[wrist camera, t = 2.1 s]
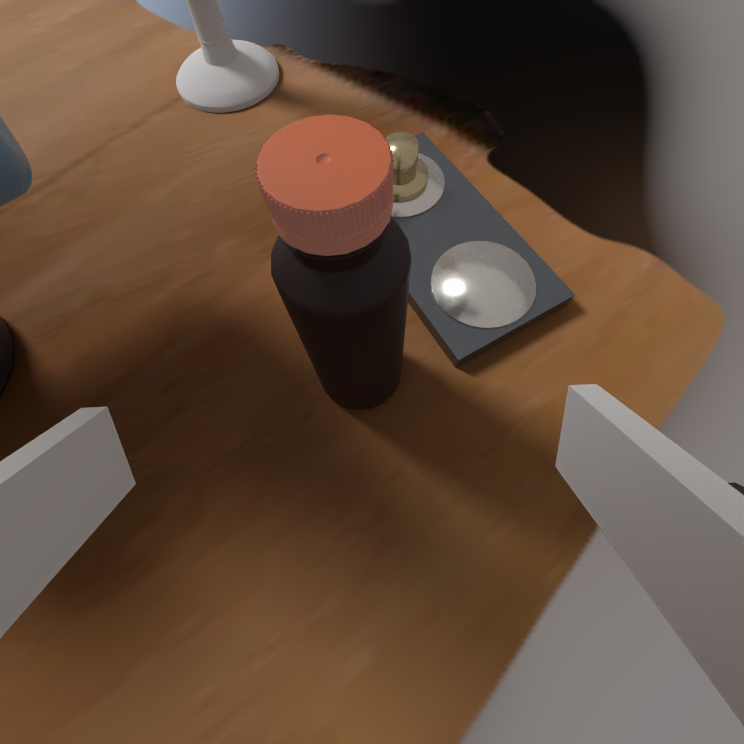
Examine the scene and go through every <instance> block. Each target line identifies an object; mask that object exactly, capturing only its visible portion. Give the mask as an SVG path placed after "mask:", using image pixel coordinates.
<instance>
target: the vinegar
mask: <svg viewBox="0 0 744 744" xmlns="http://www.w3.org/2000/svg"><path fill="white" fill-rule="evenodd" d="M258 157H259V158H258V159H256V160H257V163H256V168H255V169H256V172H255V173H256V179H257V183H258V185H259V188H260V190H261V193H262V196H263V198H264V201H265V204H266V206H267V209H268V211H269V214H270V216H271V219H272V221H273V224H274V226H275V228H276V230H277V233H278V237H277V240H276V242H275V245H274V247H273V250H272V253H271V274H272V277H273V279H274V282H275V284H276V287H277V289H278V291H279V294H280V296H281V298H282V300H283V302H284V304H285V306H286V309H287V311H288V313H289V315H290V317H291V319H292V321H293V324H294V326H295V328H296V330H297V332H298V334H299V336H300V339H301V341H302V343H303V345H304V347H305V349H306V351H307V354H308V356H309V358H310V360H311V362H312V364H313V366H314V369H315V371H316V373H317V375H318V377H319V379H320V381H321V384H322V386H323V388H324V390H325V392H326V393H327V394H328V395H329V396H330V397H331V399H332V400H333V401H335V402H337V403H338V404H340V405H342V406H344V407H347V408H352V409H357V410H359V409H368V408H372V407H374V406H377V405H379V404H381V403H383V402H384V401H385V400H387V399H388V398H389V397H390V396H391V395H392V394H393V392H394V391H395V389H396V387H397V386H398V384H399V380H400V374H401V367H402V356H403V345H404V335H405V324H406V314H407V303H408V292H409V282H410V271H411V253H410V248H409V242H408V239H407V237H406V235H405V234H404V232H403V231H402V229H401V227H400V226H399V224H398V223H397V222H396V221H395V220H394V219H393V218H391V213H392V209H393V162H394V159H393V154H392V150H391V146H389V142H387V139H386V138H385V139H384V135H381V132H379V131H377V129H375V128H373V126H370V125H369V124H368V123H366V122H364V121H360V120H358V119H355V118H352V117H349V116H339V115H321V116H312V117H308V118H304V119H302V120H299V121H296V122H293V123H291V124H289V125H287V126H286V127H284V128H282V129H281V130H279V131H277V132H276V133H275V134H274V135H273V136H272V137H271V138H270V139H268V141H267V142H266V143H265V145H264V146H263V147H262V151H260V155H258Z"/></svg>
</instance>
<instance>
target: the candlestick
mask: <svg viewBox="0 0 744 744" xmlns="http://www.w3.org/2000/svg"><path fill="white" fill-rule="evenodd" d="M186 2H187V5H188V8H189V11H190V14H191V17H192V20H193V23H194V26H195V28H196V32H197V35H198V39H199V41H200V43H201V48H199V49H198V50H196V51H195V52H193V53H192V54H191V55H190V56H189V57H188V58H187V59H186V60H185V61H184V63H183V64H182V66H181V68H180V70H179V72H178V74H177V78H176V85H177V89H178V92H179V94H180V96H181V97H182V99H183V100H184V101H185V102H186V103H187V104H188V105H190V106H191V107H193V108H196V109H198V110H201V111H206V112H213V113H225V112H232V111H238V110H241V109H244V108H247V107H250V106H252V105H254V104H256V103H258V102H260V101H261V100H263V99H264V98H265V97H267V96H268V95H269V94H270V93H271V92H272V91H273V89H274V88H275V86H276V85H277V83H278V80H279V68H278V64H277V62H276V59H275V58H274V56H273V55H272V54H271V53H270V52H268V51H267V50H266V49H264V48H262V47H261V46H259V45H256V44H254V43H251V42H247V41H242V40H231V38H230V36H229V32H228V29H227V27H226V25H225V22H224V19H223V17H222V14H221V12H220V9H219V6H218V3H217V1H216V0H186Z"/></svg>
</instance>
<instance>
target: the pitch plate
mask: <svg viewBox="0 0 744 744" xmlns="http://www.w3.org/2000/svg"><path fill="white" fill-rule="evenodd" d="M386 139H387V142H389V146H391V150H392V154H393V159H394V162H393V209H392V213H391V218H393V219H394V220H395V221H396V222H397V223H398V224H399V226H400V227H401V229H402V231H403V232H404V234H405V235H406V237H407V239H408V242H409V248H410V253H411V271H410V282H409V292H408V302H409V304H410V305H411V307H412V308H413V309H414V311H415V312H416V313H417V315H418V316H419V318H420V319H421V320H422V322H423V323H424V325H425V326H426V327H427V329H428V330H429V332H430V333H431V334H432V336H433V337H434V338H435V340H436V341H437V343H438V344H439V345H440V347H441V348H442V350H443V351H444V352H445V354H446V355H447V356H448V358H449V359H450V361H451V362H452V363H453V365H454V366H455V367H457V366H459V365H461V364H462V363H464V362H466V361H468V360H469V359H471V358H473V357H475V356H477V355H478V354H480V353H482V352H484V351H485V350H487V349H489V348H491V347H492V346H494V345H496V344H498V343H500V342H501V341H503V340H505V339H507V338H508V337H510V336H512V335H514V334H516V333H517V332H519V331H521V330H523V329H524V328H526V327H528V326H530V325H531V324H533V323H535V322H537V321H539V320H540V319H542V318H544V317H546V316H547V315H549V314H551V313H553V312H554V311H556V310H558V309H560V308H562V307H563V306H565V305H567V304H568V303H569V302H570V300H571V299H572V298H573V297H574V296H575V294H574V293H573V292H572V291H571V290H570V289H569V288H568V286H567V285H566V284H565V283H564V282H563V281H562V280H561V279H560V278H559V277H558V276H557V275H556V274H555V273H554V272H553V270H552V269H551V268H550V267H549V266H548V265H547V264H546V263H545V262H544V261H543V260H542V259H541V258H540V257H539V256H538V255H537V253H536V252H535V251H534V250H533V249H532V248H531V247H530V246H529V245H528V244H527V243H526V242H525V241H524V240H523V239H522V237H521V236H520V235H519V234H518V233H517V232H516V231H515V230H514V229H513V228H512V227H511V226H510V225H509V224H508V223H507V221H506V220H505V219H504V218H503V217H502V216H501V215H500V214H499V213H498V212H497V211H496V210H495V209H494V208H493V207H492V206H491V204H490V203H489V202H488V201H487V200H486V199H485V198H484V197H483V196H482V195H481V194H480V193H479V192H478V191H477V190H476V188H475V187H474V186H473V185H472V184H471V183H470V182H469V181H468V180H467V179H466V178H465V177H464V176H463V175H462V174H461V172H460V171H459V170H458V169H457V168H456V167H455V166H454V165H453V164H452V163H451V162H450V161H449V160H448V159H447V158H446V157H445V155H444V154H443V153H442V152H441V151H440V150H439V149H438V148H437V147H436V146H435V145H434V144H433V143H432V142H431V141H430V139H429V138H428V137H427V136H426V135H425V134H424V133H420V134H418V135H416V136H414V135H412V134H410V133H407V132H396V133H392V134H390V135H389V136H387V137H386Z"/></svg>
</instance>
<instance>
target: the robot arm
mask: <svg viewBox="0 0 744 744" xmlns="http://www.w3.org/2000/svg"><path fill="white" fill-rule="evenodd" d="M31 183H32V171H31V167H30V165H29V162H28V160H27V158H26V156H25V154H24V152H23V150H22V149H21V147H20V145H19V144H18V142H17V141H16V139H15V137H14V136H13V134H12V133H11V131H10V130H9V128H8V127H7V125H6V124H5V123H4V121H3V120H2V118H1V117H0V207H1V206H3V205H5V204H7V203H9V202H10V201H12V200H14V199H16V198H18V197H20V196H21V195H23V194H24V193H25V192H26V191H27V190H28V189H29V188H30V186H31ZM12 361H13V340H12V336H11V333H10V331H9V328H8V327H7V325H6V324H5V322H4V321H3V320H2V319H1V318H0V392H1V391H2V389H3V387H4V385H5V383H6V380H7V378H8V375H9V373H10V369H11V366H12ZM555 467H556V468H557V470H558V471H559V472H560V474H561V475H562V476H563V478H564V479H565V481H566V482H567V483H568V485H569V486H570V487H571V489H572V490H573V492H574V493H575V494H576V496H577V497H578V498H579V500H580V501H581V503H582V504H583V505H584V507H585V508H586V509H587V511H588V512H589V514H590V515H591V516H592V518H593V519H594V520H595V522H596V523H597V525H598V526H599V527H600V529H601V530H602V531H603V533H604V534H605V535H606V537H607V538H608V539H609V541H610V542H611V544H612V545H613V546H614V548H615V549H616V551H617V552H618V554H619V555H620V556H621V558H622V559H623V560H624V562H625V563H626V565H627V566H628V567H629V568H630V570H631V571H632V573H633V574H634V575H635V577H636V578H637V580H638V581H639V582H640V584H641V585H642V587H643V588H644V589H645V591H646V592H647V593H648V595H649V596H650V597H651V599H652V600H653V602H654V603H655V604H656V606H657V607H658V608H659V610H660V611H661V613H662V614H663V615H664V617H665V618H666V620H667V621H668V622H669V624H670V625H671V626H672V628H673V629H674V631H675V632H676V633H677V635H678V636H679V637H680V639H681V640H682V642H683V643H684V644H685V646H686V647H687V648H688V650H689V651H690V652H691V654H692V655H693V657H694V658H695V659H696V661H697V662H698V664H699V665H700V666H701V668H702V669H703V670H704V672H705V673H706V674H707V676H708V677H709V679H710V680H711V681H712V683H713V684H714V685H715V687H716V688H717V690H718V691H719V692H720V694H721V695H722V697H723V698H724V699H725V701H726V702H727V703H728V705H729V706H730V708H731V709H732V710H733V712H734V713H735V714H736V716H737V717H738V719H739V720H740V721H741V723H742V724H743V725H744V487H743V486H741V485H739V484H737V483H727V482H725V481H724V480H723V479H721V478H720V477H719V476H717V475H716V474H715V473H714V472H712V471H711V470H710V469H708V468H707V467H705V466H704V465H703V464H702V463H700V462H699V461H697V460H696V459H695V458H694V457H692V456H691V455H690V454H688V453H687V452H686V451H684V450H683V449H682V448H680V447H679V446H678V445H676V444H675V443H674V442H672V441H671V440H670V439H668V438H667V437H666V436H665V435H663V434H662V433H661V432H659V431H658V430H657V429H655V428H654V427H653V426H651V425H650V424H649V423H647V422H646V421H645V420H643V419H642V418H641V417H639V416H638V415H637V414H635V413H634V412H633V411H631V410H630V409H629V408H627V407H626V406H625V405H623V404H622V403H621V402H619V401H618V400H617V399H616V398H614V397H613V396H612V395H610V394H609V393H608V392H606V391H605V390H604V389H602V388H601V387H600V386H598V385H597V384H588V385H569V387H568V393H567V399H566V405H565V411H564V417H563V423H562V429H561V435H560V441H559V447H558V453H557V459H556V465H555ZM135 484H136V483H135V480H134V477H133V475H132V472H131V469H130V467H129V464H128V461H127V458H126V456H125V453H124V450H123V447H122V445H121V442H120V439H119V437H118V434H117V431H116V428H115V426H114V423H113V420H112V418H111V415H110V412H109V409H108V407H89V408H80V409H79V410H77V411H76V412H74V413H73V414H71V415H70V416H68V417H67V418H65V419H64V420H62V421H61V422H59V423H58V424H56V425H55V426H53V427H52V428H50V429H49V430H47V431H46V432H44V433H43V434H41V435H40V436H38V437H37V438H35V439H34V440H32V441H30V442H29V443H27V444H26V445H24V446H23V447H21V448H20V449H18V450H17V451H15V452H14V453H12V454H11V455H9V456H8V457H6V458H5V459H3V460H2V461H0V638H1V637H2V636H3V634H4V633H5V632H6V631H7V630H8V629H9V628H10V626H11V625H12V624H13V623H14V622H15V621H16V620H17V619H18V617H19V616H20V615H21V614H22V613H23V612H24V611H25V609H26V608H27V607H28V606H29V605H30V604H31V603H32V601H33V600H34V599H35V598H36V597H37V596H38V595H39V594H40V592H41V591H42V590H43V589H44V588H45V587H46V586H47V584H48V583H49V582H50V581H51V580H52V579H53V578H54V576H55V575H56V574H57V573H58V572H59V571H60V570H61V568H62V567H63V566H64V565H65V564H66V563H67V562H68V561H69V559H70V558H71V557H72V556H73V555H74V554H75V553H76V551H77V550H78V549H79V548H80V547H81V546H82V545H83V543H84V542H85V541H86V540H87V539H88V538H89V537H90V536H91V534H92V533H93V532H94V531H95V530H96V529H97V528H98V526H99V525H100V524H101V523H102V522H103V521H104V520H105V518H106V517H107V516H108V515H109V514H110V513H111V512H112V510H113V509H114V508H115V507H116V506H117V505H118V504H119V503H120V501H121V500H122V499H123V498H124V497H125V496H126V495H127V493H128V492H129V491H130V490H131V489H132V488H133V487H134V485H135Z"/></svg>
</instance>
